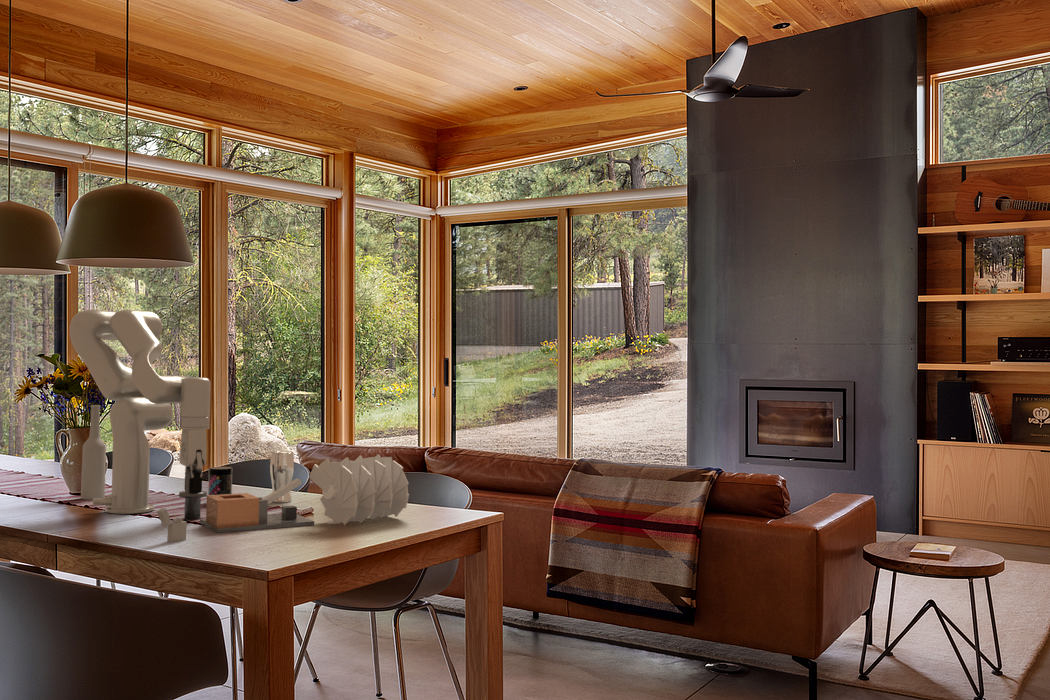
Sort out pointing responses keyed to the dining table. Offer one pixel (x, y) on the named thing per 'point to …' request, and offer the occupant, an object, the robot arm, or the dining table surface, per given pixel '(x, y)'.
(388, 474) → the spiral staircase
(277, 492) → the latch lever
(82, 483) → the bottle
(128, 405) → the robot arm
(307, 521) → the base
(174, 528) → the lighter
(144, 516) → the dining table surface
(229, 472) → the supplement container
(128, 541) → the dining table surface
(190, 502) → the steel pin
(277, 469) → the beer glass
